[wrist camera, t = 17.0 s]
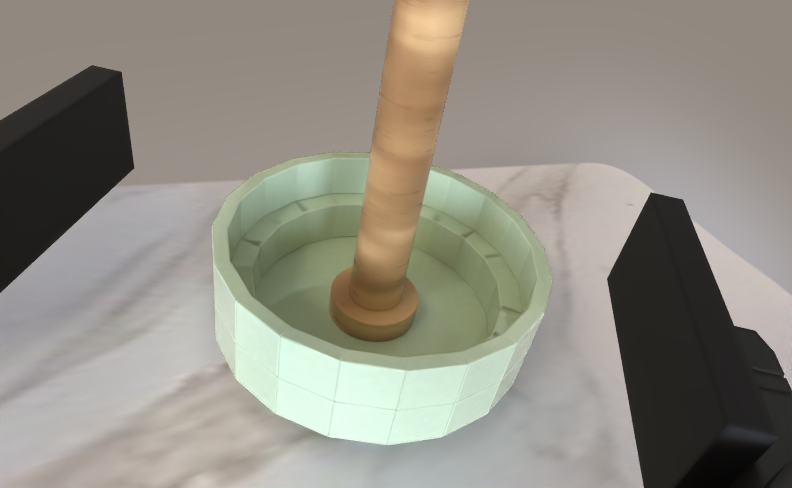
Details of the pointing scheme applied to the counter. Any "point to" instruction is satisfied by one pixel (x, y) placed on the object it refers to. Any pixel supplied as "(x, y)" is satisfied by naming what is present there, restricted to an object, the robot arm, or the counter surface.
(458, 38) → the wooden pestle
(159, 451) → the counter surface
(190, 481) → the counter surface
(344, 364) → the bowl
